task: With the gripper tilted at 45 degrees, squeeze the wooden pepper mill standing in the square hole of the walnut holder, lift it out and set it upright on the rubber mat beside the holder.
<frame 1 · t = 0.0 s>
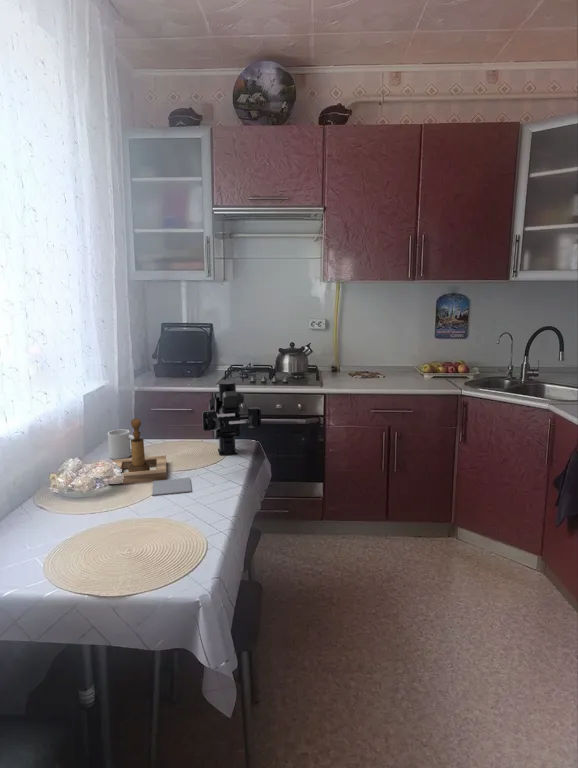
hand: (235, 425, 160), 17 cm above the table, tool horizontal, fingers open, 9 cm apart
cup: (124, 457, 184), on the table
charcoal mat: (171, 487, 155), on the table
walnut holder: (139, 473, 167), on the table
wooden pepper mill: (139, 473, 167), resting in walnut holder
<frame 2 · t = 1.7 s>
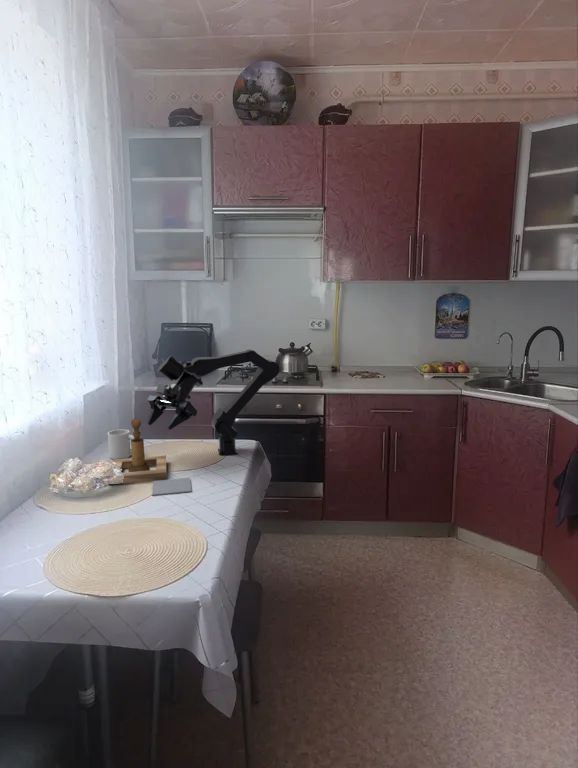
hand: (158, 426, 169), 14 cm above the table, tool tilted 45°, fingers open, 9 cm apart
nothing on the table moved.
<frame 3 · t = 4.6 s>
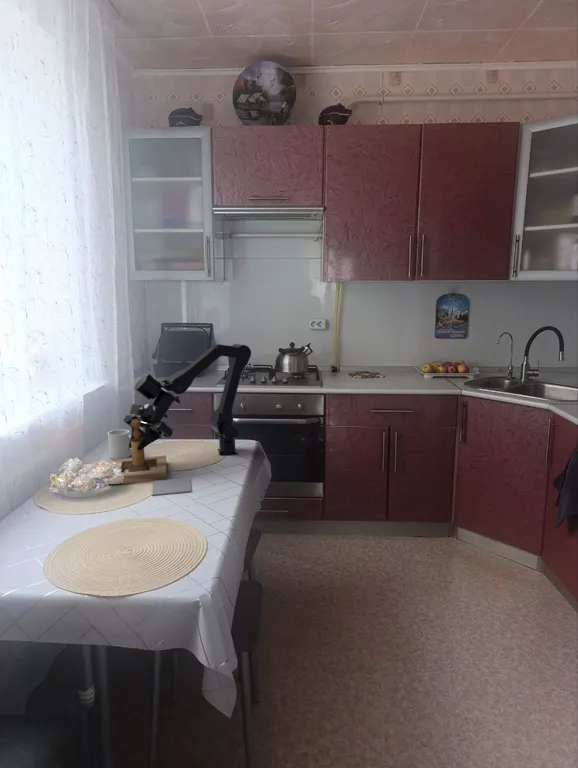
hand: (133, 448, 164), 9 cm above the table, tool tilted 45°, fingers closed on wooden pepper mill, 4 cm apart
wooden pepper mill: (139, 473, 167), resting in walnut holder, touching gripper
everything else where it was.
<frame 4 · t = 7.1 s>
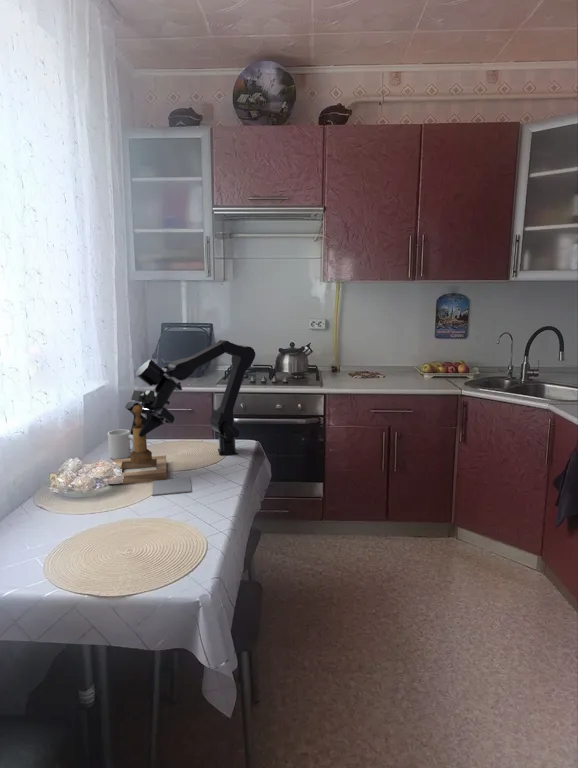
hand: (135, 435, 162), 13 cm above the table, tool tilted 45°, fingers closed on wooden pepper mill, 4 cm apart
wooden pepper mill: (141, 460, 165), point 4 cm above the table, touching gripper
everything else where it was.
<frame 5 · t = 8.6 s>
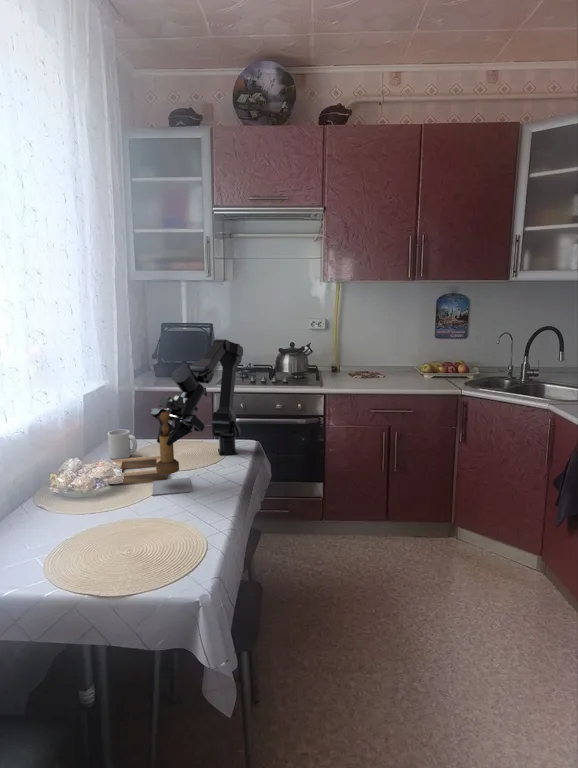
hand: (162, 443, 152), 13 cm above the table, tool tilted 45°, fingers closed on wooden pepper mill, 4 cm apart
wooden pepper mill: (168, 471, 155), point 5 cm above the table, touching gripper
everything else where it was.
when the fingers open (10 cm above the table, at t = 9.9 s): wooden pepper mill drops 1 cm, resting on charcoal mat.
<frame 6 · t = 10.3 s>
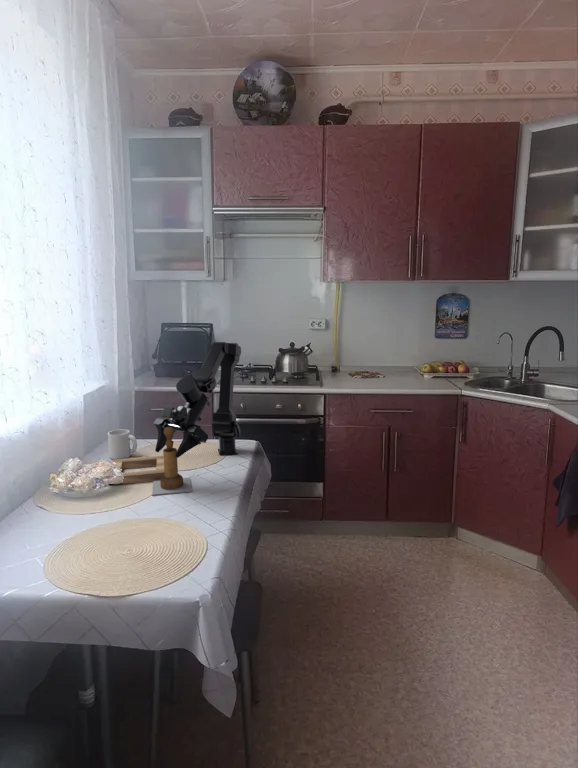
hand: (166, 454, 152), 11 cm above the table, tool tilted 45°, fingers open, 8 cm apart
wooden pepper mill: (172, 486, 155), resting on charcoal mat
everything else where it was.
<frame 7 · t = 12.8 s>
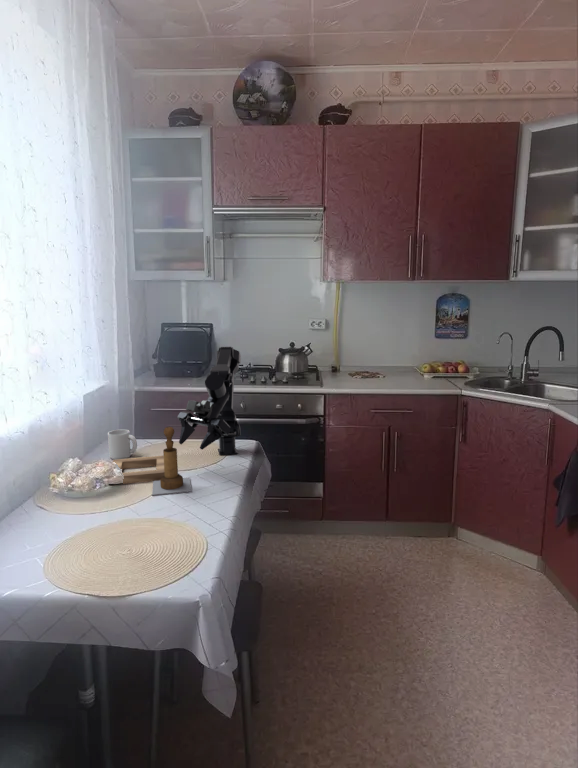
hand: (190, 446, 159), 11 cm above the table, tool tilted 45°, fingers open, 9 cm apart
nothing on the table moved.
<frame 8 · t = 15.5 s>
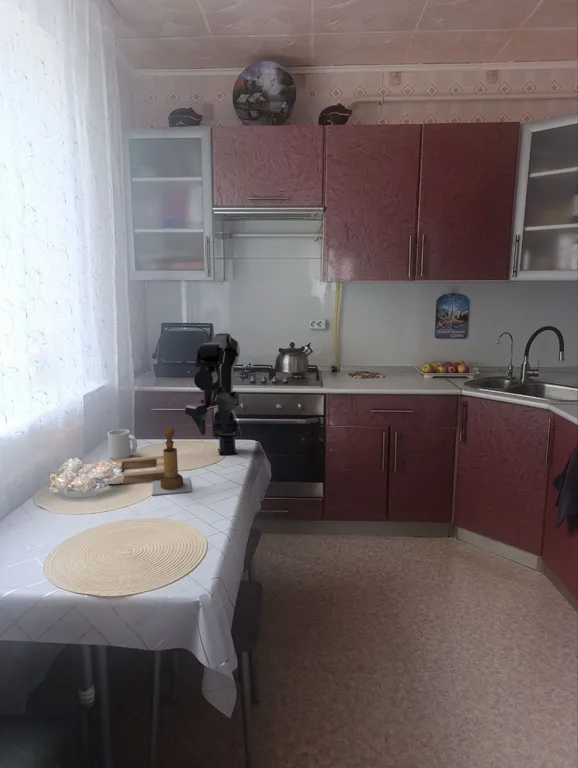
hand: (213, 431, 166), 13 cm above the table, tool pointing down, fingers open, 9 cm apart
nothing on the table moved.
at the end: wooden pepper mill inside the target area on the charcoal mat (0.2 cm from its centre), point 0.2 cm above the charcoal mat's base; wooden pepper mill tilted 0°; the gripper is holding nothing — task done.
